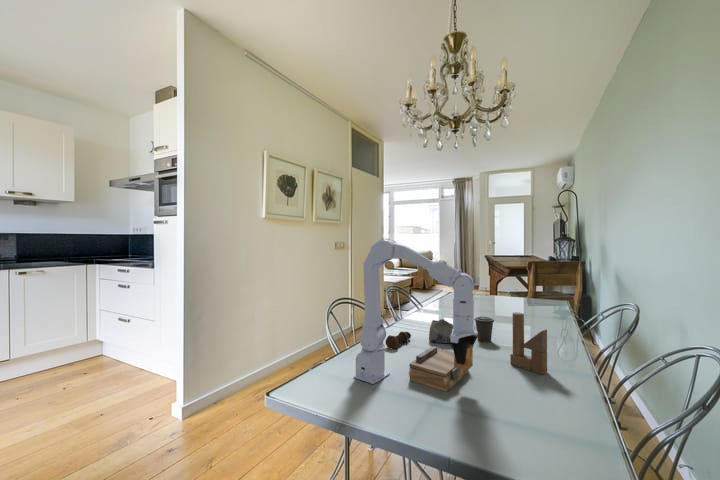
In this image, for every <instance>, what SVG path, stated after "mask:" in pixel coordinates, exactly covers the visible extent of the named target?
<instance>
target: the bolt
mask: <svg viewBox="0 0 720 480" xmlns="http://www.w3.org/2000/svg"><path fill="white" fill-rule="evenodd" d="M411 336H412V334H411V333H410V332H409V331H400V332H399V333H398V335H396V336H395V335H390V334H389V335H388V336H386V338H385V345H386V348H387V349H389V348H392V349H391V350H396V349H397V348H398V347H399V345H400V344H401V343H402V342H404V343H403V344H407V343H408V342H409V340H410V339H411V338H412V337H411Z"/></svg>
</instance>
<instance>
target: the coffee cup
mask: <svg viewBox="0 0 720 480" xmlns="http://www.w3.org/2000/svg"><path fill="white" fill-rule="evenodd" d="M474 322H475V330H476V331H477V332H478V334H477V341H478V342H480V343H491V342H492V336H493V335H492V334H493V329H494V327H493V325H494V322H495V320H494V319H493V318H491V317H488V316H478V317H474Z"/></svg>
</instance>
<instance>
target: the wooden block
mask: <svg viewBox="0 0 720 480" xmlns="http://www.w3.org/2000/svg"><path fill="white" fill-rule="evenodd" d="M525 349H527V350H530V351H531V353H530V354H531V355H530V356H529V355H527V354H525ZM510 364H511V365H513V366H516V367H518V368H521V369H524V370H528V371H531V372H532V373H536V374H539V375H541V376H542V375H545V374H546V373H548V329H544V330H541V331H539V332H538V333H537V334H535V335H534V336H532V337H531V338H529V340H527V341H526V342H525V314H524V313H522V312H517V311H516V312H515V311H514V312H513V313H512V353H511V354H510Z"/></svg>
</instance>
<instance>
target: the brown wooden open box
mask: <svg viewBox="0 0 720 480" xmlns="http://www.w3.org/2000/svg"><path fill="white" fill-rule="evenodd" d="M468 373H469V370H465V369H462V368H458V377H457V378H456V379H455V380H454V381H453V380H452V373H451V374H450V375H448V376H447V377H443V376H440V375H436V374H433V373H429V372H426V371H422V370H419V369H415V368H412V367H410V366H409V381H410V382H412V383H413V382H414V383H416V384H420V385H423V386H426V387H430V388H433V389H435V390H439V391H442V392H445V393H447V392H448V391H449V390H450V389H451V388H452V387H454V386H455V385H456V383H458V382H459V381H460V380H461V379H462V378H463V377H464V376H465V375H466V374H468ZM457 381H458V382H457Z"/></svg>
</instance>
